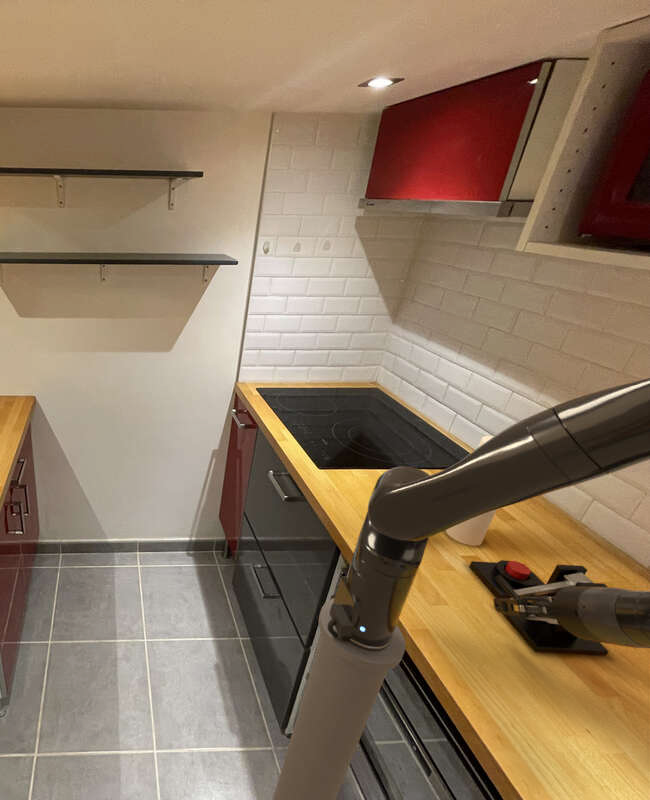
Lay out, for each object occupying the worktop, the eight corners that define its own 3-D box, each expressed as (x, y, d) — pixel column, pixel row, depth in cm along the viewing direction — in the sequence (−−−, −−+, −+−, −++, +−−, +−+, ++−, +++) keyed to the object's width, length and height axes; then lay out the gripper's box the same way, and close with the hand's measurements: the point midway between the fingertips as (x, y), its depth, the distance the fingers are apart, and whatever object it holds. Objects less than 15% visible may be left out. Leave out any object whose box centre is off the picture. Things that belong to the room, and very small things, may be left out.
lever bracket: (534, 651, 79) (568, 595, 73) (498, 609, 87) (526, 555, 81) (605, 656, 78) (645, 599, 72) (562, 612, 86) (594, 558, 80)
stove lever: (528, 619, 76) (528, 609, 75) (494, 582, 83) (494, 573, 83) (608, 605, 74) (609, 595, 73) (566, 569, 81) (567, 559, 80)
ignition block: (498, 601, 88) (505, 588, 87) (468, 567, 97) (474, 554, 95) (556, 604, 88) (563, 591, 87) (521, 569, 96) (527, 557, 95)
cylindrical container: (438, 528, 108) (473, 438, 98) (459, 522, 110) (496, 434, 100) (467, 548, 102) (508, 454, 91) (489, 541, 104) (532, 449, 94)
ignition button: (513, 580, 89) (516, 573, 89) (500, 566, 93) (503, 560, 92) (532, 581, 89) (535, 574, 89) (518, 567, 93) (521, 561, 92)
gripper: (652, 589, 64) (549, 585, 80) (548, 584, 65) (467, 580, 81) (672, 648, 62) (561, 631, 78) (564, 641, 62) (476, 626, 78)
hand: (513, 605), depth 79 cm, fingers open, 5 cm apart
